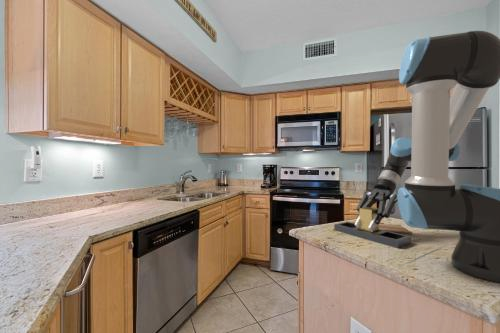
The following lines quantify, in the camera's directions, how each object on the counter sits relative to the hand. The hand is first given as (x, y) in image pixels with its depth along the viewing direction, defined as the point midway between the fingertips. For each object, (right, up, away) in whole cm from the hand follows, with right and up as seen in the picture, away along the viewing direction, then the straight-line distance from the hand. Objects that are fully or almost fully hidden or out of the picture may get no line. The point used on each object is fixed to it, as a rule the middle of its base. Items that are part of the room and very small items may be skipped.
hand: (363, 228), depth 92 cm
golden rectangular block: (+3, -4, +2) cm, 5 cm away
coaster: (+16, -4, +10) cm, 20 cm away
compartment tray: (+3, -4, +2) cm, 6 cm away
